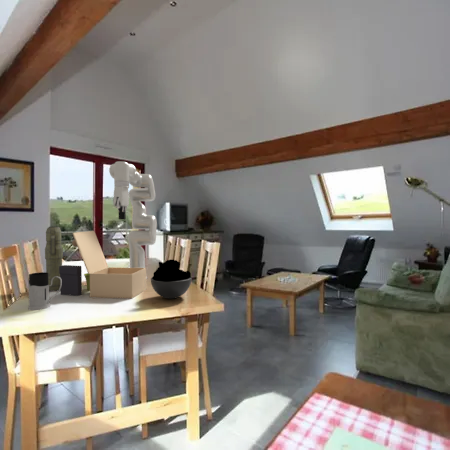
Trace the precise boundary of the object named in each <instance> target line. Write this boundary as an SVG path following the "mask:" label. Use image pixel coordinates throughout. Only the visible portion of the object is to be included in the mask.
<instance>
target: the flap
mask: <svg viewBox="0 0 450 450" xmlns="http://www.w3.org/2000/svg"><path fill="white" fill-rule="evenodd" d="M72 236H73V238H74V239H73V240H72V241H71V243H72V244H71V245H72V246H73V247H75V248H78V251H79V254H80V256H81V258H82V260H83V261H82V262H83V265H84V266H85V269H86V271H87V273H88V274H90V273H93V272H96V271H99V270H102V269H105V268H108V267H109V265H108V263H107V259H106V258H105V257H106V256H105V255H104V252H103V250H102V247H101V245H100V243H99V239H98V237H97V234H96V232H95V230H90V231H78V232H72Z"/></svg>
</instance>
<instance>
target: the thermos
mask: <svg viewBox="0 0 450 450" xmlns="http://www.w3.org/2000/svg"><path fill="white" fill-rule="evenodd" d="M45 241H46V243H45V248H44V259H45V263H46V264H45V272H46V273H48V284H49V285H51V280H52V278H53V277H55V276H58V277H60V274H59V266H63V258H64V249H63V248H64V247H63V245H62V230H61V227H59V226H49V227H47V228H46V230H45ZM58 277H55V278H54V279H53V281H52V285H51V286H49V292H58V290H59V288H60V279H59V278H58Z"/></svg>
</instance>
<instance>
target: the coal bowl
mask: <svg viewBox="0 0 450 450" xmlns="http://www.w3.org/2000/svg"><path fill="white" fill-rule="evenodd" d="M180 268H181V262H180V261H179V260H177V259H167V260H166V261H164V262H161V261H159V262H158V267H157V269H156V270H155V271H154V272H153V275H152V277H151V278H150V284H151V286H152V288H153V290H154V291H155V292H156V294H158V296H160V297H162V298H165V299H177V298H179V297H181V296H183V295H184V294H185V293H186V292H187V291H188V290H189V289H190V287H191V284H192V273H191V272H190V270H186V271H184V270H183V269H180Z"/></svg>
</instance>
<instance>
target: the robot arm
mask: <svg viewBox="0 0 450 450" xmlns="http://www.w3.org/2000/svg"><path fill="white" fill-rule="evenodd" d="M108 171H109V175H110V176H111V178H112V179H114V190H113V198H112V199H113V200H112V201H113V206H114V207H116V209H117V212H118V220H126V214H127V213H126V211H127V208H128V207H129V205H130V204H131V206H132V217H131V218H132V219H131V227H132V228H133V230H131V231H129V233H128V234H127V241H128V246H129V247H128V248H129V268H146V258H145V257H146V253H145V249H144V248H143V247H142V246H152V245H155V244H156V240H157V228H158V223H157V221H158V220H157V218H156V216H155V215H152V214H147V208H146V206H145V205H144V204H143V203H142V202H153V201H155V199H156V191H155V190H156V188H155V183H154V180H153V177H152V175H151V174H149V173H139V172H138V171H137V168H136V166H135V165H134V164H132V163H128V162H126V161H115V162H114V163H112V164H111V165H110V166H109V170H108ZM130 185H131V186H132V187H134V188H132V189H131V188H130ZM129 188H130V190H129ZM147 279H148V276H147V275H146V280H147Z"/></svg>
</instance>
